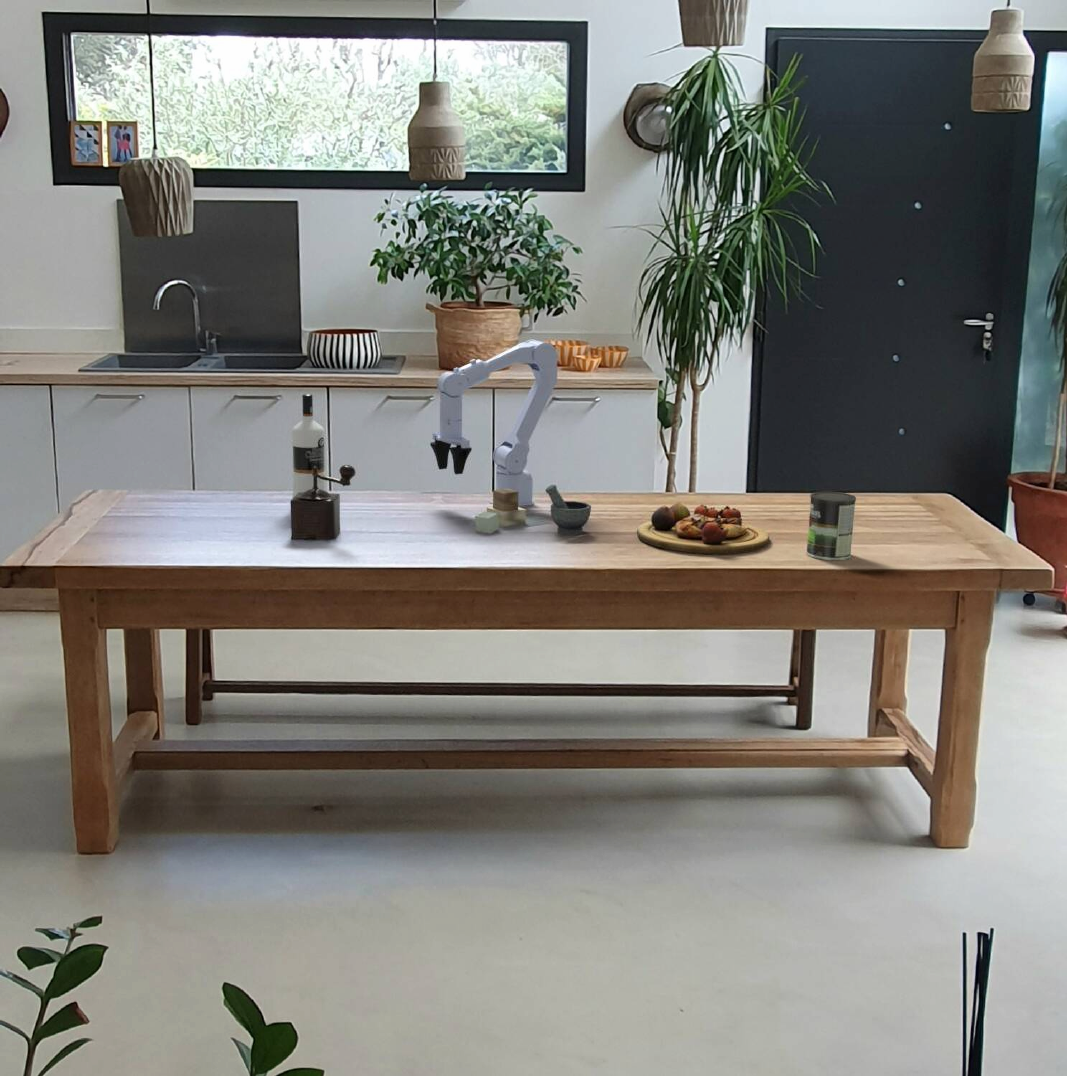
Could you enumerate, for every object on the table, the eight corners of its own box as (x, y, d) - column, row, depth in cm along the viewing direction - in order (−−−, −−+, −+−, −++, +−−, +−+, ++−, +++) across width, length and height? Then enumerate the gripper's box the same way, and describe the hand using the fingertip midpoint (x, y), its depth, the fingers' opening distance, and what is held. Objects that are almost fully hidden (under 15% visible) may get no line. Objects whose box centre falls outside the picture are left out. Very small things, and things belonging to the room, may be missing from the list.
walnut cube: (507, 505, 339) (507, 488, 338) (518, 509, 336) (518, 491, 334) (492, 508, 336) (493, 490, 335) (503, 511, 333) (503, 493, 332)
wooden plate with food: (766, 561, 308) (769, 526, 306) (628, 549, 314) (630, 515, 312) (771, 532, 338) (773, 499, 337) (645, 522, 344) (646, 490, 343)
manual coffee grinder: (289, 540, 316) (287, 465, 311) (298, 529, 327) (296, 456, 322) (355, 542, 315) (354, 466, 311) (362, 531, 326) (361, 458, 322)
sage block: (485, 527, 331) (484, 511, 329) (499, 529, 328) (497, 513, 327) (476, 532, 327) (474, 516, 326) (489, 533, 325) (488, 518, 324)
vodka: (307, 504, 353) (305, 390, 345) (335, 509, 348) (333, 393, 341) (283, 511, 345) (281, 394, 338) (312, 516, 340) (309, 397, 333)
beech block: (509, 517, 342) (509, 504, 341) (525, 523, 336) (525, 509, 335) (486, 520, 338) (486, 507, 337) (502, 526, 332) (502, 512, 331)
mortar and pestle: (587, 528, 334) (588, 480, 331) (593, 537, 325) (594, 488, 322) (542, 528, 333) (543, 480, 330) (546, 537, 324) (548, 488, 321)
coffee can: (813, 560, 308) (817, 500, 304) (800, 549, 318) (805, 491, 314) (857, 560, 309) (862, 500, 305) (843, 549, 319) (848, 491, 315)
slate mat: (518, 513, 348) (518, 512, 348) (551, 524, 337) (551, 523, 337) (460, 522, 337) (460, 520, 337) (492, 533, 326) (492, 532, 326)
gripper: (422, 416, 349) (422, 468, 353) (453, 424, 338) (452, 477, 341) (445, 414, 353) (445, 465, 357) (476, 422, 342) (476, 474, 345)
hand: (450, 471), depth 349 cm, fingers open, 7 cm apart
